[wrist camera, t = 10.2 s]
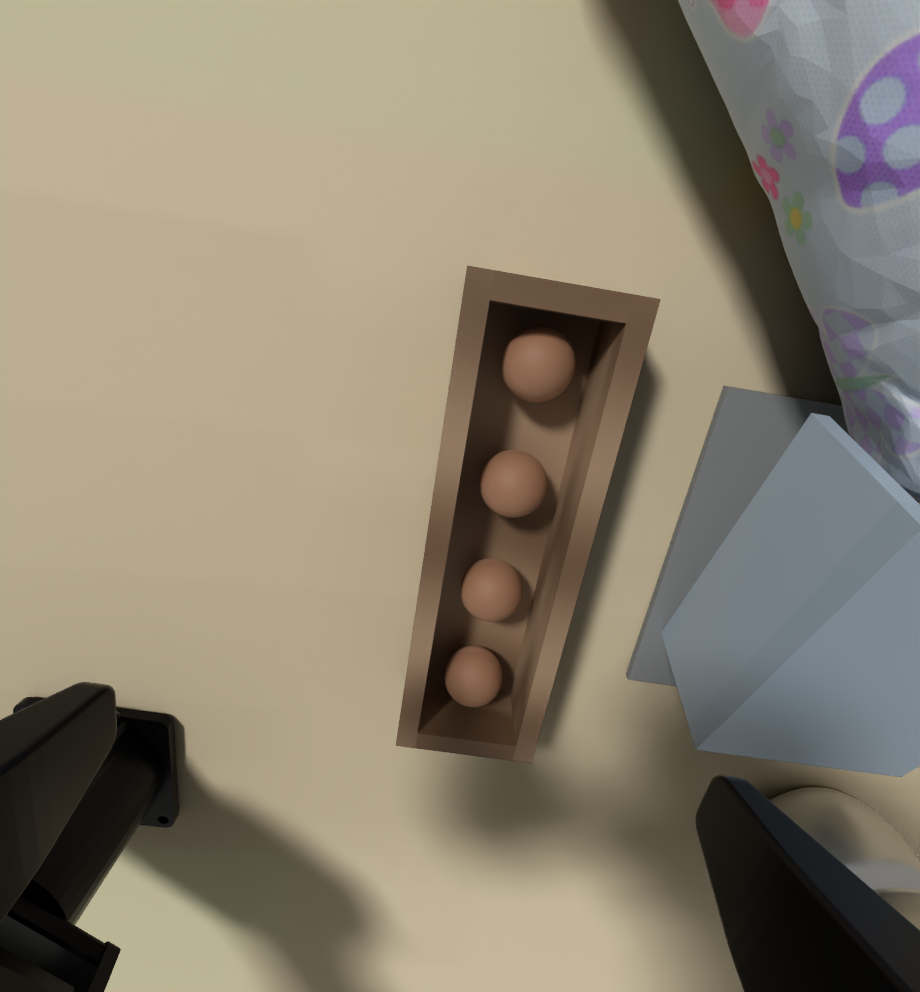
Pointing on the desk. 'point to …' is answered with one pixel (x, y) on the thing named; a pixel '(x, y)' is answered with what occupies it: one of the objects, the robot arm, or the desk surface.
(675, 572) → the mat
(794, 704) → the cover
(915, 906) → the plastic bottle
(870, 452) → the pencil case
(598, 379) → the tray
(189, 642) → the desk surface
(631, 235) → the desk surface
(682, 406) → the desk surface
